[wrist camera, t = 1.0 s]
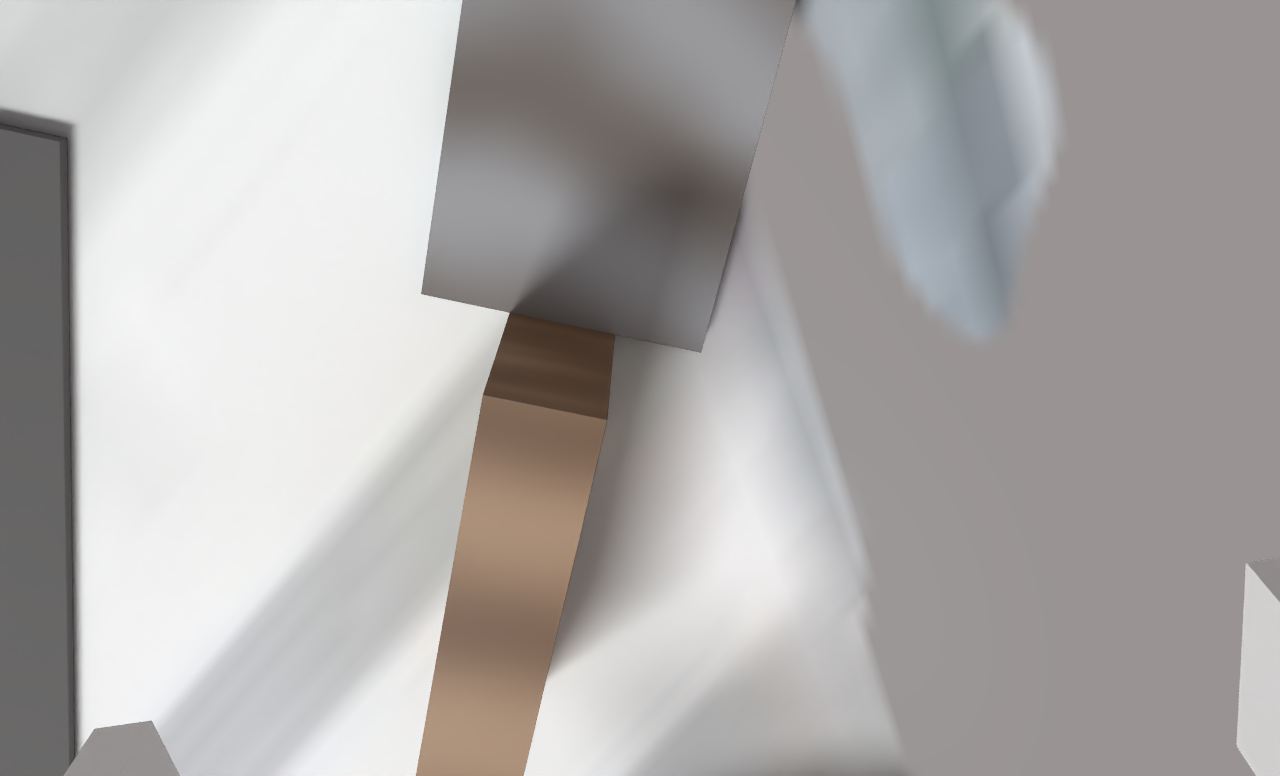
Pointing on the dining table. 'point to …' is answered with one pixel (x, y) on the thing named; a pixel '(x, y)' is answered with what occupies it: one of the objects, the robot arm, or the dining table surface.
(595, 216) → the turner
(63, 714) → the mat
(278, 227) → the dining table surface
